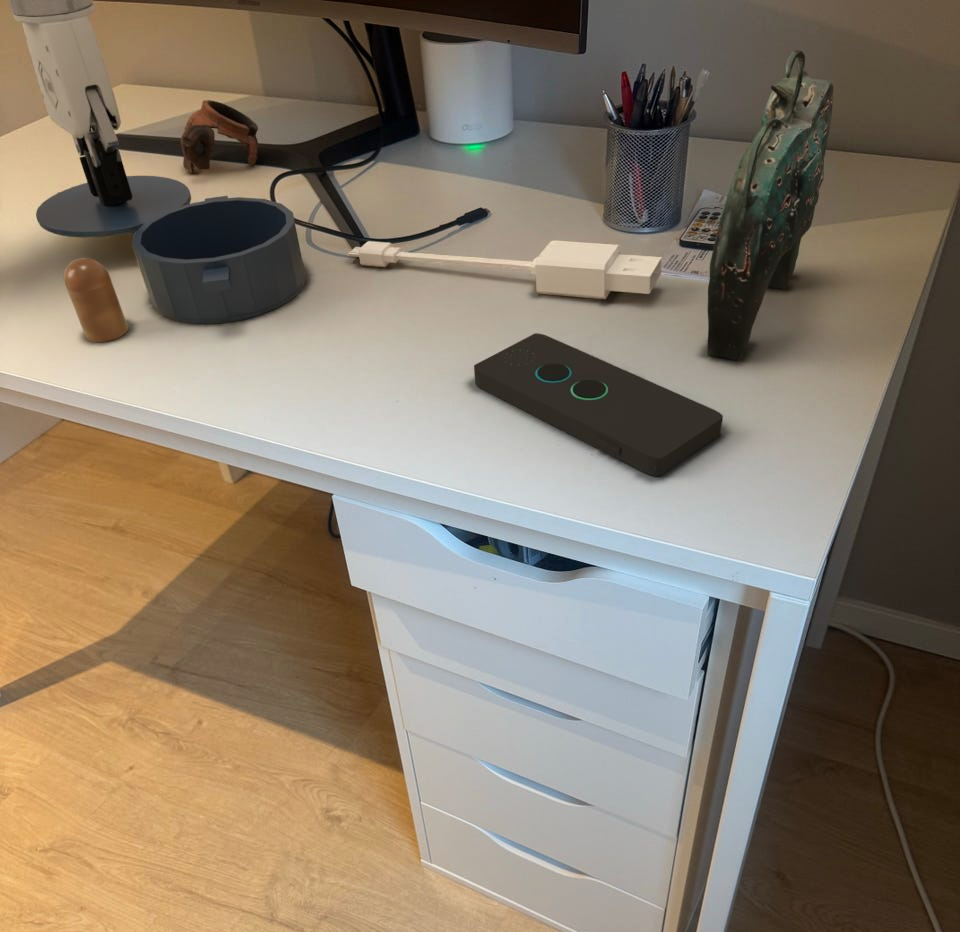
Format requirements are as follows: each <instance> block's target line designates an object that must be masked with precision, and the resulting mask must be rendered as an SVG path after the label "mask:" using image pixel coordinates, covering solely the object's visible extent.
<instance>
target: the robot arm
mask: <svg viewBox="0 0 960 932" xmlns="http://www.w3.org/2000/svg"><path fill="white" fill-rule="evenodd" d="M7 1H8V5H9V8H10V10H11V13H12V16H13V19H14V21H16V22H18V23H21V24H22V28H23V32H24V37H25V42H26V44H27V49H28V52H29V56H30V58H31V62H32V66H33V69H34V72H35V76H36V79H37V82H38V85H39V88H40V92H41V96H42V99H43V102H44V106H45V108H46V113H47V115H48V116H49V118H50V119H51V121H52V122H53V123H55V125H57V126H59V128H61V129H63V130H64V131H66V132H67V133H69V134H70V135H71V136H72V139H73V142H74V145H75V149H76V151H77V153H78V155H79V161H80V164H81V167H82V170H83V173H84V177H85V178H86V183H88V186H89V189H90V192H91V194H92V195H93V196H95V197H98V193H97V190H96V187H95V184H94V181H93V178H92V175H91V172H90V169H89V166H88V163H87V160H86V156H85V153H84V149H85V148H86V147H88V149H89V152H90V155H91V158H92V161H93V163H94V165H93V166H91V168H92V171H93V174H94V177H95V180H96V184H97V187H98V190H99V193H100V196H101V199H102V202H103V204H105V205H106V206H110V205H114V204H118V203H122V202H125V201H129V200H131V199H132V193H131V190H130V186H129V183H128V180H127V176H128V175H127V173H126V170H125V166H124V164H123V160H122V156H121V152H120V149H119V145H120V142H119V139H118V137H117V134H116V132H115V131H118V130H119V129H120V126H121V125H122V124H121V123H122V121H121V116H120V111H119V108H118V104H117V103H118V102H117V100H116V97H115V93H114V88H113V87H112V83H111V80H110V77H109V74H108V71H107V68H106V64H105V61H104V57H103V55H102V52H101V49H100V46H99V43H98V39H97V37H96V35H95V31H94V29H93V26H92V24H91V21H90V19H89V15H91V14H94V12H95V5H94V2H93V0H7ZM95 144H97V145H96V146H95Z"/></svg>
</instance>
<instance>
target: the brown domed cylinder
mask: <svg viewBox="0 0 960 932" xmlns="http://www.w3.org/2000/svg"><path fill="white" fill-rule="evenodd" d="M63 282H64V285H65V288H66V291H67V293H68V296H69V299H70V301H71V303H72V306H73V308H74V311H75V313H76V315H77V319H78V321H79V323H80V326H81V329H82V330H83V333H84V336H85V338H86V339H87V340H88V341H89V342H93V343H105V342H110V341H114V340H116V339H118V338H121V337H123V336H124V335H125V334H126V333H127V332H128V331H129V326H128V323H127V320H126V317H125V314H124V312H123V309H122V307H121V303H120V300H119V298H118V295H117V292H116V290H115V289H116V288H115V286H114V285H113V281H112V279H111V276H110V273H109V272H108V270H107V269H106V268H105V266H104V265H103V264H102V263H100V262H99V261H98V260H96V259H93V258H88V257H80V258H76V259H74V260H72V261H70V262H69V264H68V265H67V266H66V269H65V270H64V275H63Z"/></svg>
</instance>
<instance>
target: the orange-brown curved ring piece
mask: <svg viewBox="0 0 960 932" xmlns="http://www.w3.org/2000/svg"><path fill="white" fill-rule="evenodd" d="M214 129H216V130H217V134H218V135H221V136H225V137H227V138H229V139H235V140H237V141H238V142H239V143H242V144H246V145H247V160H246V161H247V164H249V165H250V166H254V165H255V164H256V161H257V159H258V153H257V147H258V145H260V144H259V140H258V137H257V133H258V131H259V126H258V125H257V123H256V122H254V121H253V119H251V117H249V116H247V115H246V114H244V113H242V112H241V111H239V110H237V109H235V108H234V107H232V106H229V105H227V104H225V103H222V102H219V101H216V100H210V99H204V100H202V103H201V107H200V109H198V110H196V111H195V112H193V113H192V114H191V115H190V116H189V117H188V119H187V122H186V124H185V127H184V129H183V130H184V131H183V134H182V135H181V137H180V149H181V151H182V153H183V158H182V159H183V161H182V164H183V168H184V169H185V170H186V171H188V173H190V174H192V175H194V174H195V168H196V169H197V170H199V171H204V170H210V168H211V153H212V151H213V146H214V145H215V141H216V139H215V134H216V133H215V130H214ZM256 154H257V156H256Z"/></svg>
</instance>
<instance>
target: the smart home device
mask: <svg viewBox="0 0 960 932" xmlns="http://www.w3.org/2000/svg"><path fill="white" fill-rule="evenodd" d="M473 372H474V383H475V385H476V386H477V387H478V388H480V389H481V390H484V391H485V392H487V393H489V394H491V395H493V396H495V397H497V398H498V399H501V400H502V401H505V402H507V403H509V404H510V405H512V406H514V407H516V408H518V409H520V410H522V411H524V412H526V413H528V414H530V415H531V416H533V417H536V418H538V419H539V420H542V421H543V422H545V423H547V424H549V425H552V426H553V427H555V428H557V429H559V430H560V431H563V432H564V433H567V434H569V435H570V436H573V437H574V438H576V439H579V440H580V441H582V442H584V443H586V444H588V445H590V446H592V447H594V448H596V449H597V450H600V451H602V452H603V453H605V454H607V455H609V456H611V457H613V458H614V459H617V460H619V461H621V462H622V463H625V464H627V465H629V466H631V467H633V468H635V469H636V470H638V471H641V472H643V473H644V474H647V475H649V476H654V477H661V476H662V475H664V474H665V473H667V472H668V471H669V470H671V469H673V468H674V467H676V466H677V465H679V464H680V463H682V462H683V461H684V460H686V459H687V458H689V457H690V456H692V455H693V454H694V453H696V452H697V451H699V450H701V449H702V448H704V447H705V446H706V445H708V444H709V443H711V442H712V441H714V440H716V439H717V438H719V436H721V431H722V426H723V425H722V424H723V420H724V419H723V418H724V415H723V414H722V413H720V412H719V411H717V410H715V409H713V408H711V407H709V406H707V405H704V404H702V403H700V402H697V401H696V400H693V399H691V398H689V397H686V396H684V395H682V394H680V393H678V392H675V391H673V390H670V389H668V388H666V387H664V386H661V385H660V384H657V383H655V382H653V381H650V380H648V379H646V378H644V377H641V376H639V375H637V374H634V373H632V372H630V371H628V370H626V369H623V368H621V367H618V366H616V365H614V364H612V363H610V362H607V361H606V360H603V359H601V358H599V357H597V356H594V355H591V354H590V353H588V352H585V351H582V350H581V349H578V348H576V347H574V346H572V345H569V344H567V343H565V342H563V341H561V340H557V339H556V338H553V337H552V336H549V335H546V334H543V333H538V332H537V333H533V334H531V335H529V336H527V337H525V338H523V339H521V340H520V341H517V342H516V343H514V344H512V345H509V346H508V347H506V348H504V349H502V350H500V351H498V352H496V353H494V354H492V355H491V356H489V357H487V358H485V359H483V360H481V361H479V362H477V363H475V364H474V365H473Z"/></svg>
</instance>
